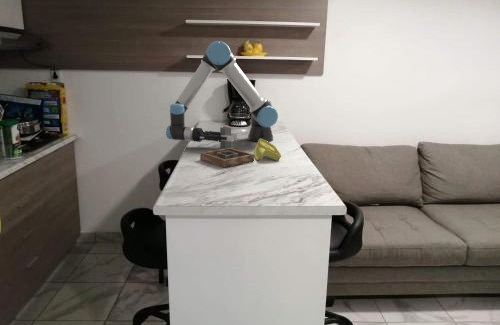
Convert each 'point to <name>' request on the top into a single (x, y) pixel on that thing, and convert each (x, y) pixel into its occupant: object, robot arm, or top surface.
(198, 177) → the top surface
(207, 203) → the top surface
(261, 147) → the plastic component
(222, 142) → the grey tall block
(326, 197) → the top surface
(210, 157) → the box
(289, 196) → the top surface
